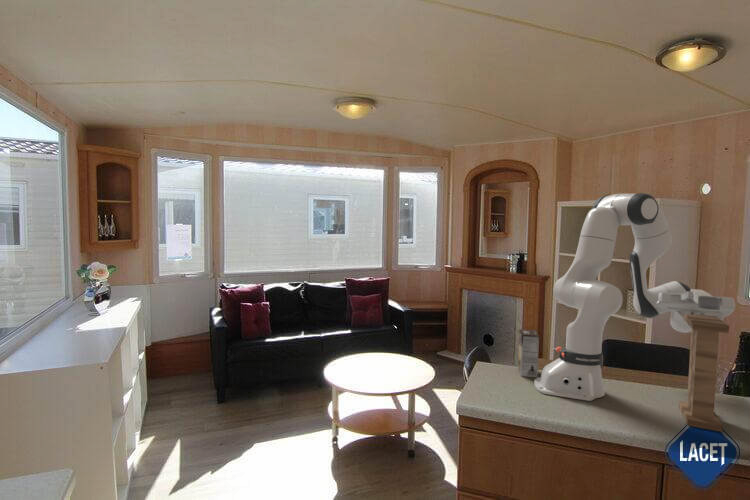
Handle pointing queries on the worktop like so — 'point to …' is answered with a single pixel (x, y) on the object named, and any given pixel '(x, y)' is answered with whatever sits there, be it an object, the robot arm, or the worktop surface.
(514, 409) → the worktop surface
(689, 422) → the stand
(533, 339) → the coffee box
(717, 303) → the jaw bar
